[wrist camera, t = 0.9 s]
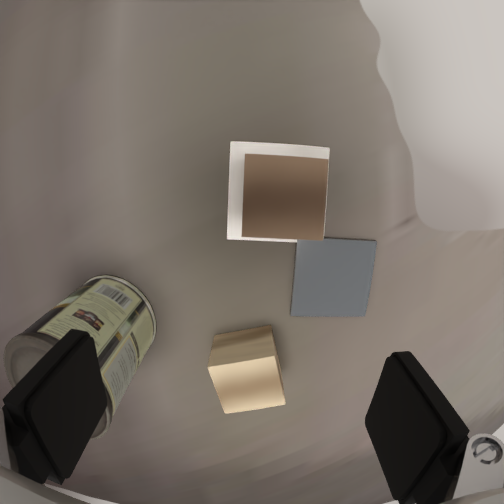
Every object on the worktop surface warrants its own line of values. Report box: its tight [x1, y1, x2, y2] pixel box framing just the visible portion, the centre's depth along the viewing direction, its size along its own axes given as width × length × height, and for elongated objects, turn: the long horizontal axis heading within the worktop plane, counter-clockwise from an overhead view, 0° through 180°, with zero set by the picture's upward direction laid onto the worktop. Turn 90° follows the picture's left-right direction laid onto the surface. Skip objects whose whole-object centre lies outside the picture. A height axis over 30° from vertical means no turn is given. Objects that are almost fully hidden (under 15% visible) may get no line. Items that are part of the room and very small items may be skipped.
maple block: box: [208, 325, 286, 414], centre depth 29 cm, size 6×6×6 cm
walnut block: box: [242, 154, 329, 241], centre depth 25 cm, size 6×6×6 cm
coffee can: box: [4, 275, 156, 440], centre depth 25 cm, size 10×10×14 cm
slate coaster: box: [290, 238, 377, 316], centre depth 30 cm, size 8×8×1 cm
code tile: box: [227, 141, 330, 242], centre depth 28 cm, size 9×9×1 cm
